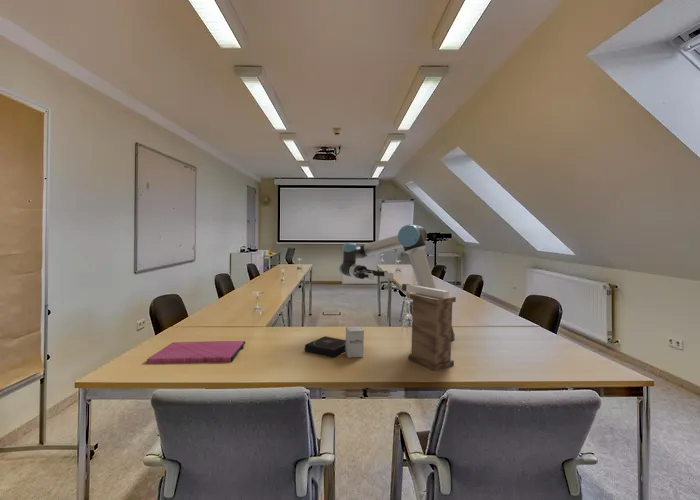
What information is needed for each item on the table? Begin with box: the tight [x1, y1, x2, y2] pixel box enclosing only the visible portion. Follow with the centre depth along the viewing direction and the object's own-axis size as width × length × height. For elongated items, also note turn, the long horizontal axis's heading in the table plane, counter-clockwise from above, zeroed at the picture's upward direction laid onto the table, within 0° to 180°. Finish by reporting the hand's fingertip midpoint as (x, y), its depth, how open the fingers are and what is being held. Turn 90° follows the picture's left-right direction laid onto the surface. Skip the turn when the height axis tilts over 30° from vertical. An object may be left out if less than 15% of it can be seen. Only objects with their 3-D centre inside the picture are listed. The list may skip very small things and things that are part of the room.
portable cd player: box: [304, 335, 346, 359], centre depth 172 cm, size 16×17×4 cm
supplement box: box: [345, 326, 365, 358], centre depth 165 cm, size 7×7×13 cm
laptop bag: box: [146, 340, 246, 364], centre depth 165 cm, size 40×4×27 cm
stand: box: [407, 293, 457, 372], centre depth 157 cm, size 12×16×30 cm
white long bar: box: [401, 283, 450, 299], centre depth 160 cm, size 3×26×3 cm, turn 34°
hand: (383, 276), depth 183 cm, fingers open, 13 cm apart
